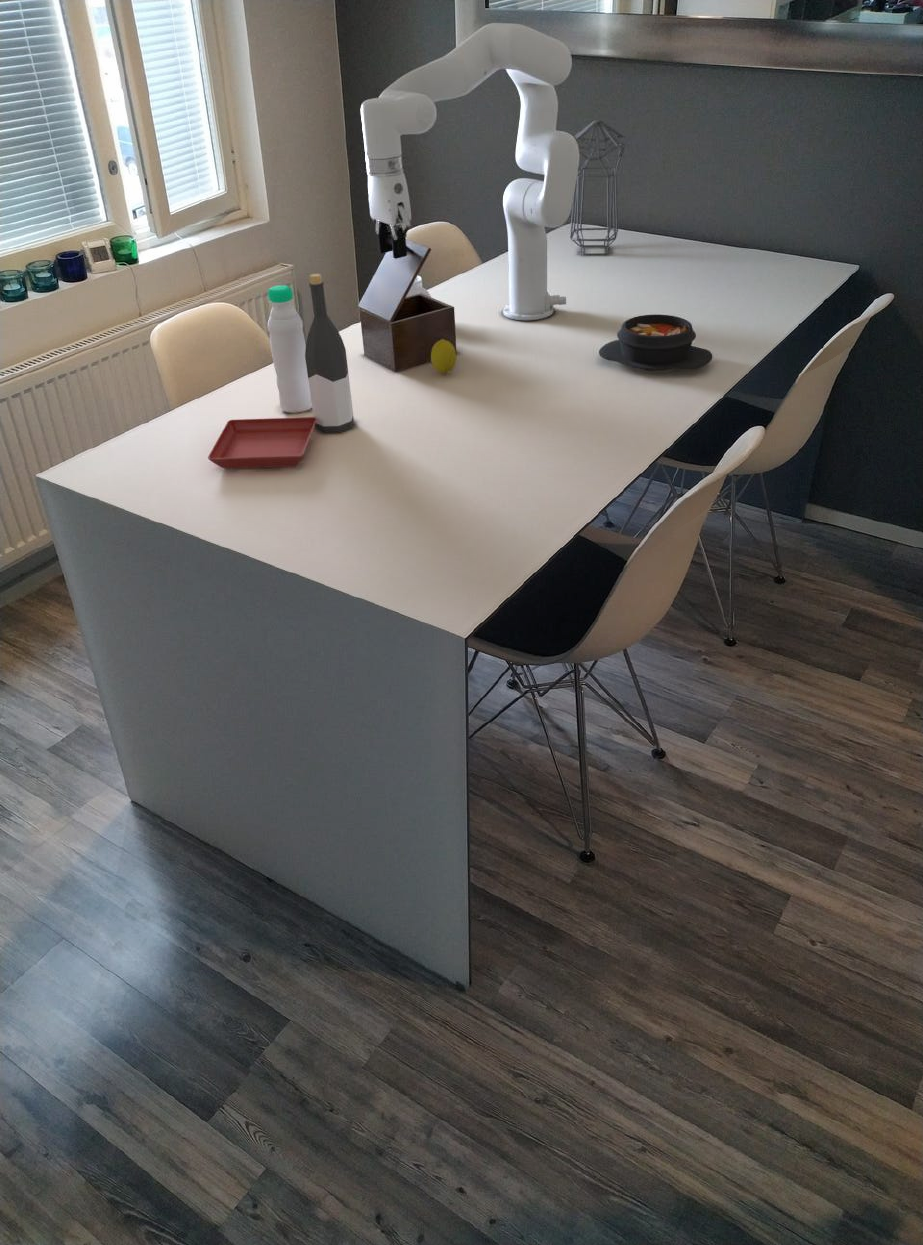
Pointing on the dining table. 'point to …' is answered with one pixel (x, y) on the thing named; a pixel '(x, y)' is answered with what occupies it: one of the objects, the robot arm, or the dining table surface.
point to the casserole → (656, 344)
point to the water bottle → (288, 351)
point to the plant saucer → (262, 442)
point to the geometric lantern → (614, 139)
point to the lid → (393, 280)
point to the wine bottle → (327, 368)
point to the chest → (408, 332)
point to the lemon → (443, 356)
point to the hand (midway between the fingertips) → (392, 253)
